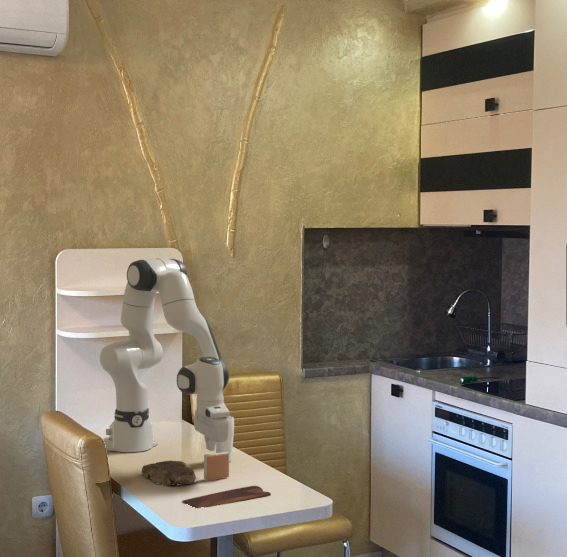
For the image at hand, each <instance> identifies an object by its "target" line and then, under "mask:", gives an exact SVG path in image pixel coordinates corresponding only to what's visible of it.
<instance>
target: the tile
mask: <svg viewBox="0 0 567 557" xmlns="http://www.w3.org/2000/svg"><path fill="white" fill-rule="evenodd" d="M227 477H229V478H230V462H229V453H228V452H222V453H216V452H215V453H206V454H203V480H204V479H205V480H204V481H206V480H207V481H212V480H211V479H214V480H219V478H222V479H227Z"/></svg>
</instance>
